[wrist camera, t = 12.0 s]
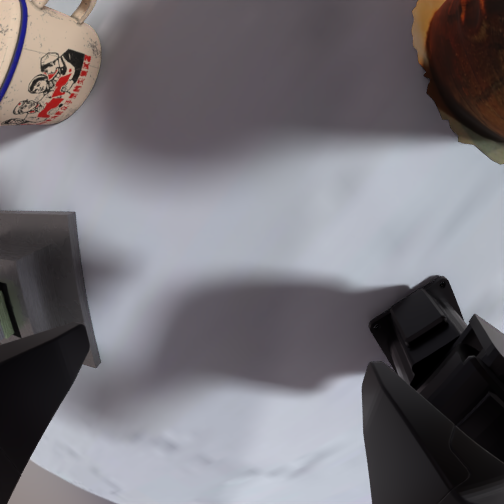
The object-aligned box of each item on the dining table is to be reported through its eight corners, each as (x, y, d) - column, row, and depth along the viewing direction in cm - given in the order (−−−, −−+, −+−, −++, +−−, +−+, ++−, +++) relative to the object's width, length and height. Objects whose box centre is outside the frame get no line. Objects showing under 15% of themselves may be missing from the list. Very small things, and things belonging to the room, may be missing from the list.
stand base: (75, 211, 21) (21, 232, 16) (101, 362, 26) (67, 402, 20) (-17, 210, 23) (-60, 226, 17) (9, 331, 27) (-23, 356, 22)
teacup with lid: (53, 150, 20) (-71, 171, 9) (13, 84, 19) (-91, 83, 8) (158, 31, 17) (45, -40, 6) (100, -23, 15) (5, -77, 4)
